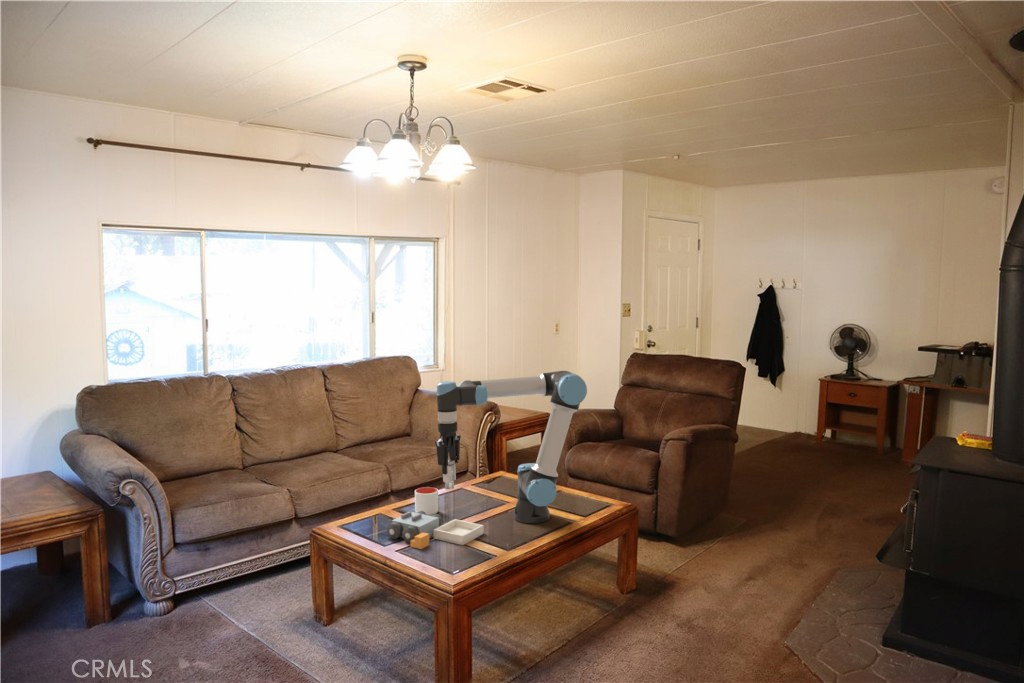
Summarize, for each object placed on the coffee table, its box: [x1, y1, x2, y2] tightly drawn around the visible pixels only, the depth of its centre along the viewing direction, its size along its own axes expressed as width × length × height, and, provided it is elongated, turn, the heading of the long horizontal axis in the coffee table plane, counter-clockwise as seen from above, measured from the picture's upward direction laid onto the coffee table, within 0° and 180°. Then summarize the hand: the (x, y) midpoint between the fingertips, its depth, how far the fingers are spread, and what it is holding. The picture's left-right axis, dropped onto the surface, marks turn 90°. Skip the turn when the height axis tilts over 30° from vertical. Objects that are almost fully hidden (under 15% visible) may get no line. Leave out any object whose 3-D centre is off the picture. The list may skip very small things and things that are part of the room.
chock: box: [409, 532, 430, 550], centre depth 255 cm, size 5×5×4 cm
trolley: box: [386, 511, 445, 544], centre depth 267 cm, size 14×19×8 cm
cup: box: [414, 486, 439, 516], centre depth 292 cm, size 10×10×10 cm
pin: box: [444, 458, 455, 490], centre depth 264 cm, size 5×5×11 cm
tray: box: [433, 518, 485, 546], centre depth 265 cm, size 14×14×3 cm
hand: (449, 480), depth 265 cm, fingers closed on pin, 3 cm apart
